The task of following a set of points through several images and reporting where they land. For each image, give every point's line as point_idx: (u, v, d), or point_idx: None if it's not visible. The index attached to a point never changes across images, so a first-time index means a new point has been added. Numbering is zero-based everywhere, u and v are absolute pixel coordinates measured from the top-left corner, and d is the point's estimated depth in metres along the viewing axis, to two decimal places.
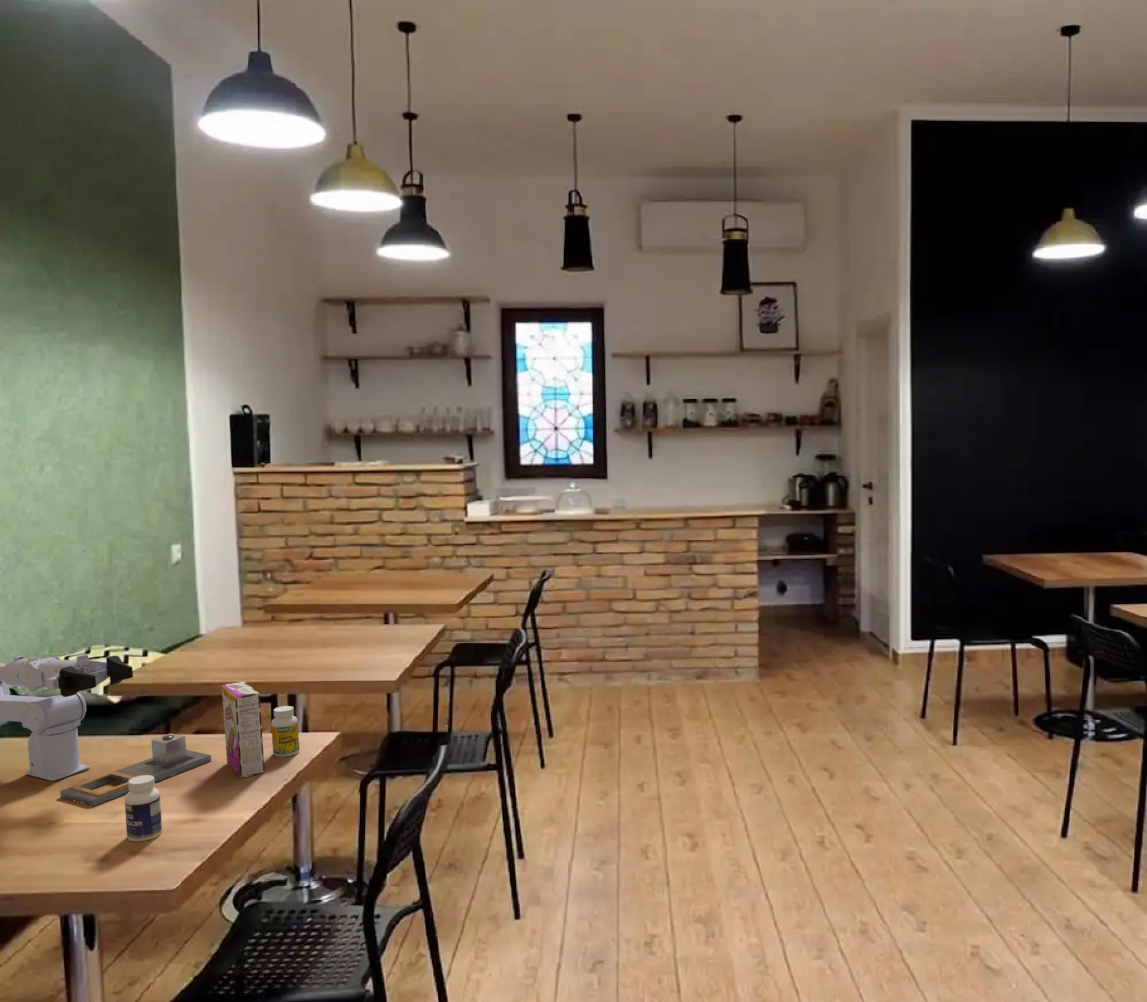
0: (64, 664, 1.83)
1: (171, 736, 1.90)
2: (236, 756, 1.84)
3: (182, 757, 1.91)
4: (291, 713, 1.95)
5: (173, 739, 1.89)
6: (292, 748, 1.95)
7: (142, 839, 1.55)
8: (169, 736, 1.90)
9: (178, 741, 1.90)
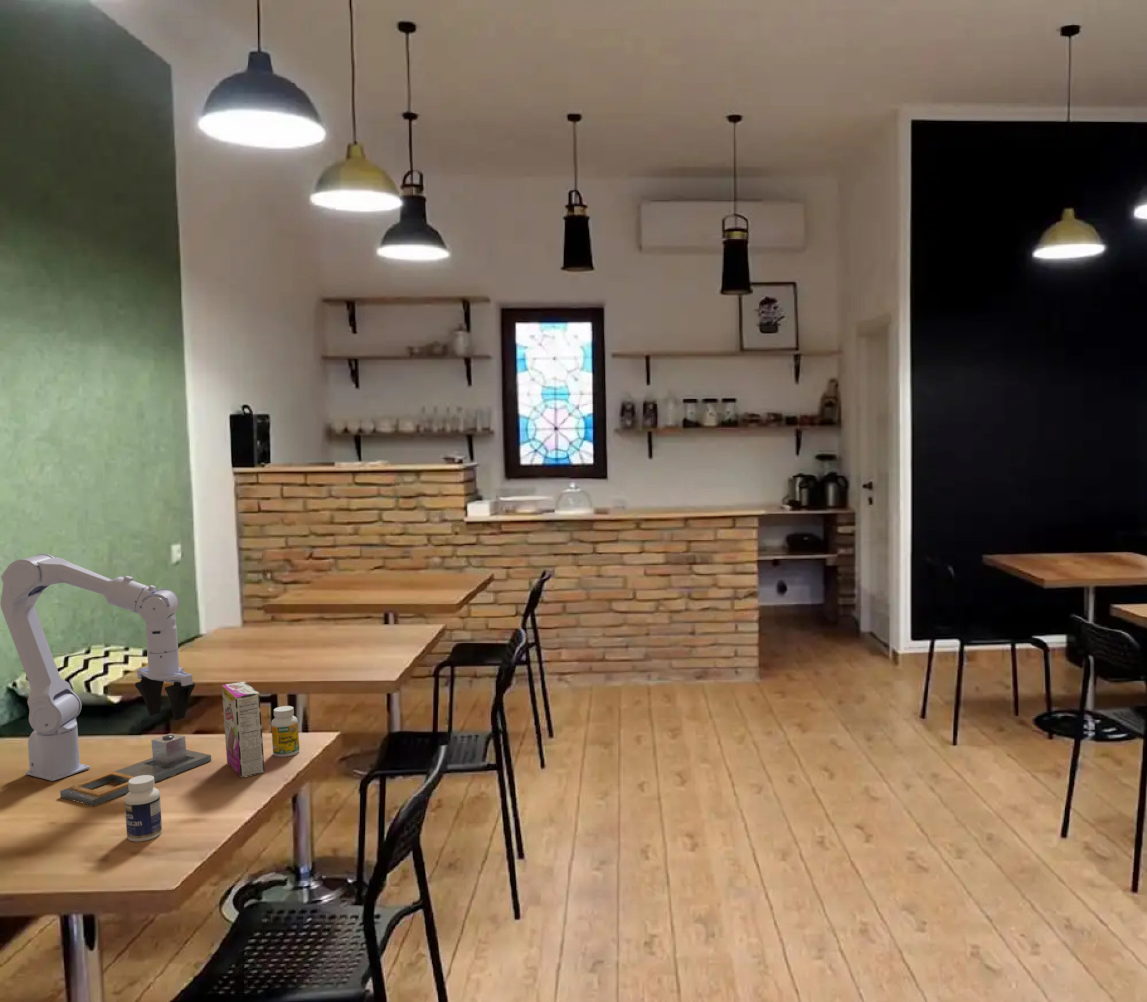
0: None
1: (171, 736, 1.90)
2: (236, 756, 1.84)
3: (182, 757, 1.91)
4: (291, 713, 1.95)
5: (173, 739, 1.89)
6: (292, 748, 1.95)
7: (142, 839, 1.55)
8: (169, 736, 1.90)
9: (178, 741, 1.90)
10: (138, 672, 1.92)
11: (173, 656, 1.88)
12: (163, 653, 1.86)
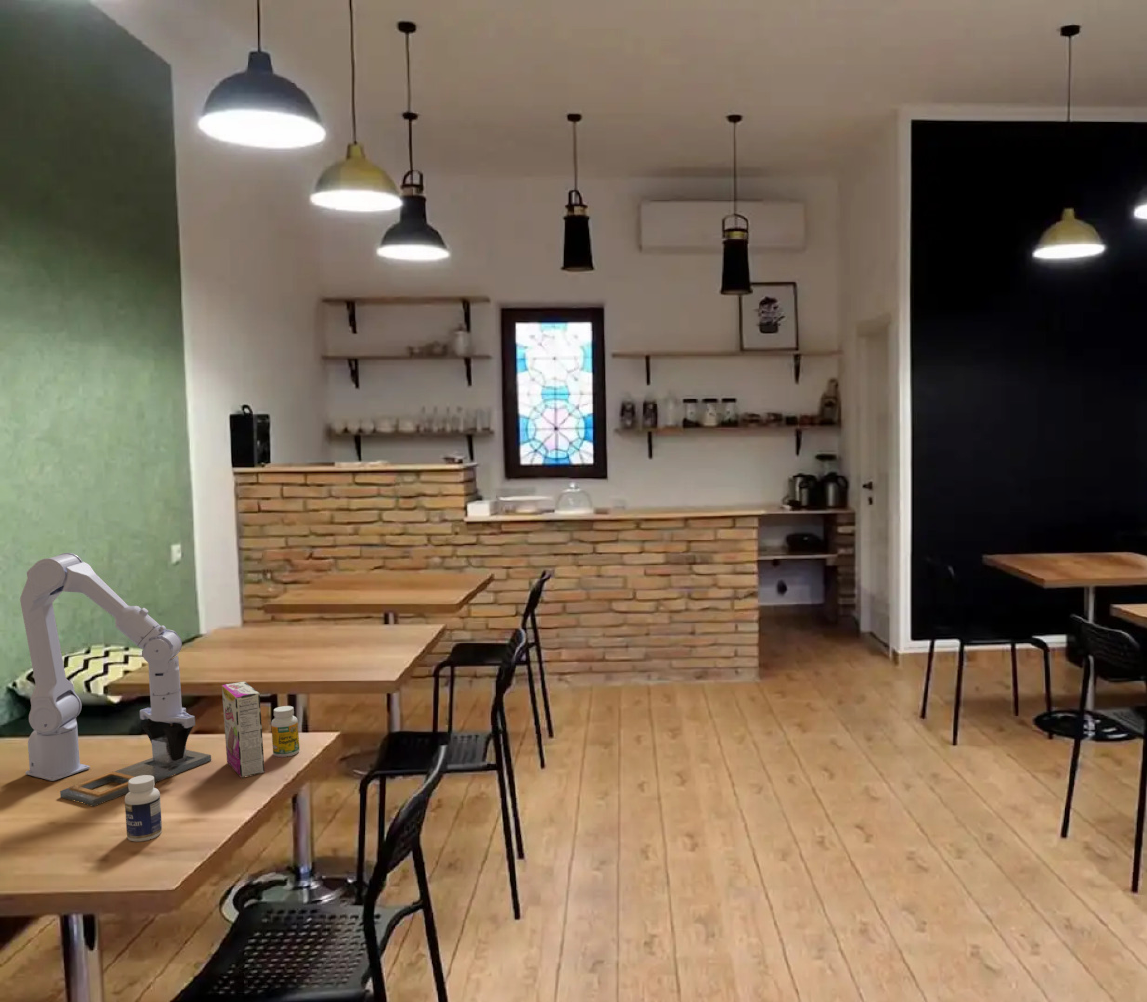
0: None
1: None
2: (236, 756, 1.84)
3: None
4: (291, 713, 1.95)
5: None
6: (292, 748, 1.95)
7: (142, 839, 1.55)
8: None
9: None
10: (141, 713, 1.92)
11: (176, 698, 1.89)
12: (166, 695, 1.87)
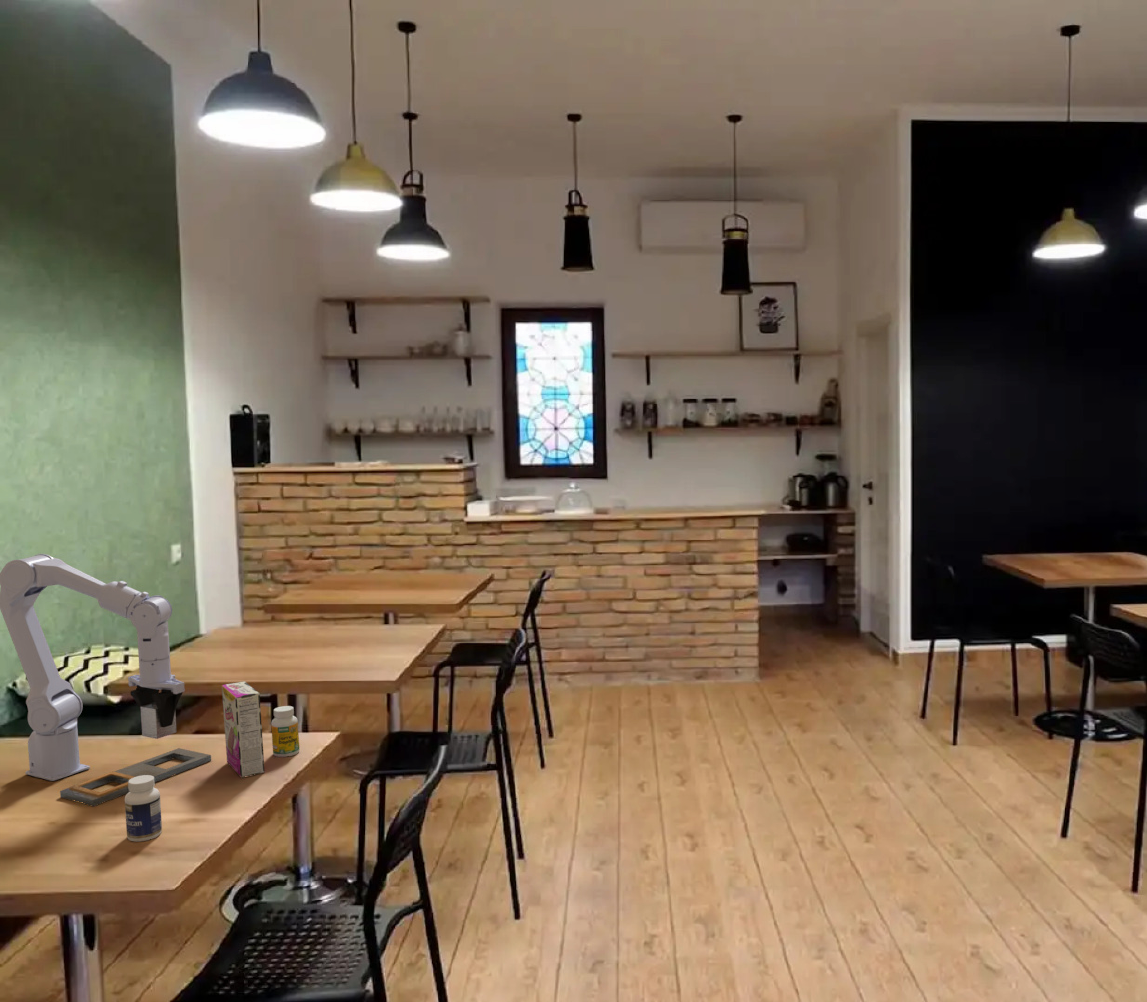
0: None
1: None
2: (236, 756, 1.84)
3: (172, 724, 1.88)
4: (291, 713, 1.95)
5: None
6: (292, 748, 1.95)
7: (142, 839, 1.55)
8: None
9: None
10: (129, 679, 1.90)
11: (165, 664, 1.86)
12: (155, 661, 1.85)
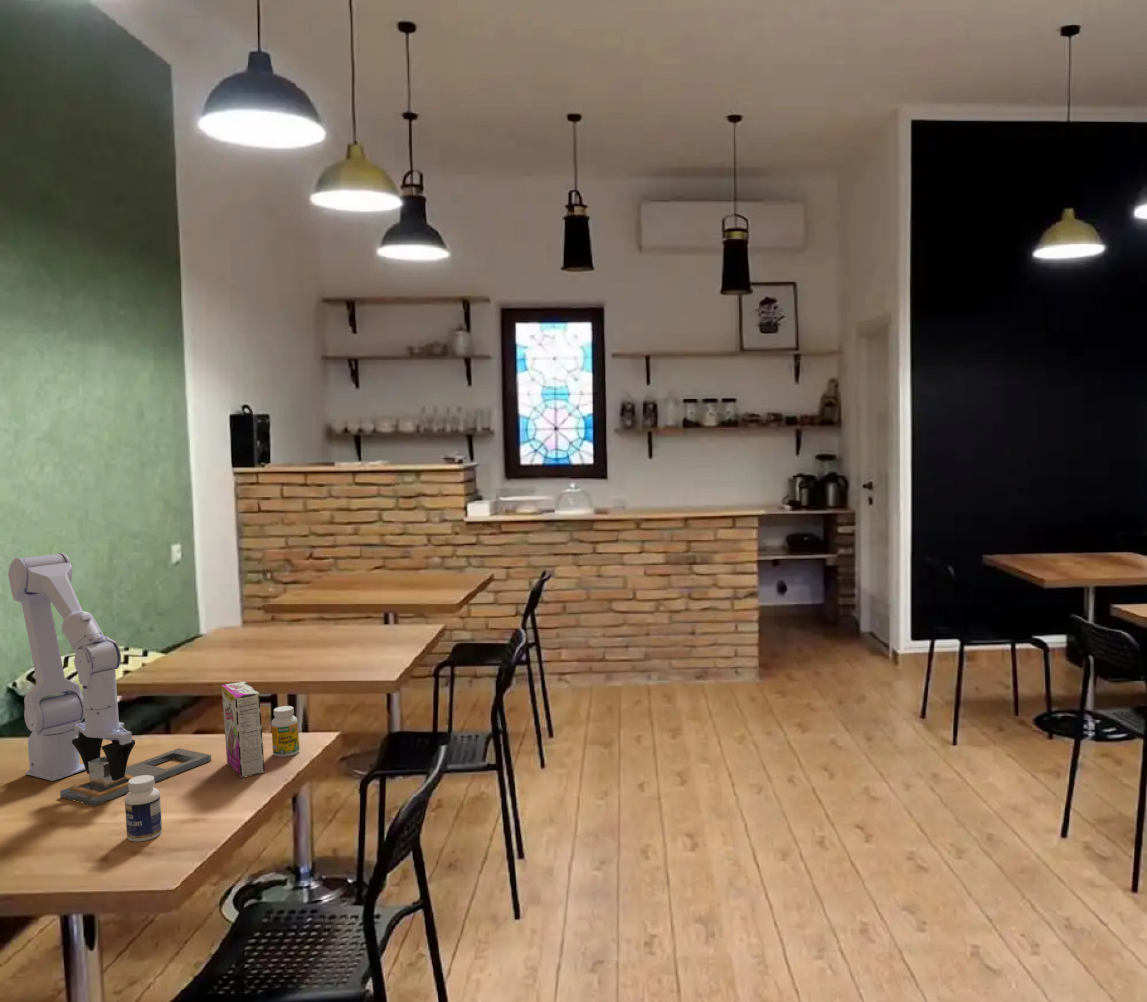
0: (117, 708, 1.79)
1: None
2: (236, 756, 1.84)
3: (121, 780, 1.79)
4: (291, 713, 1.95)
5: None
6: (292, 748, 1.95)
7: (142, 839, 1.55)
8: None
9: None
10: (75, 728, 1.80)
11: (111, 712, 1.76)
12: (100, 709, 1.75)
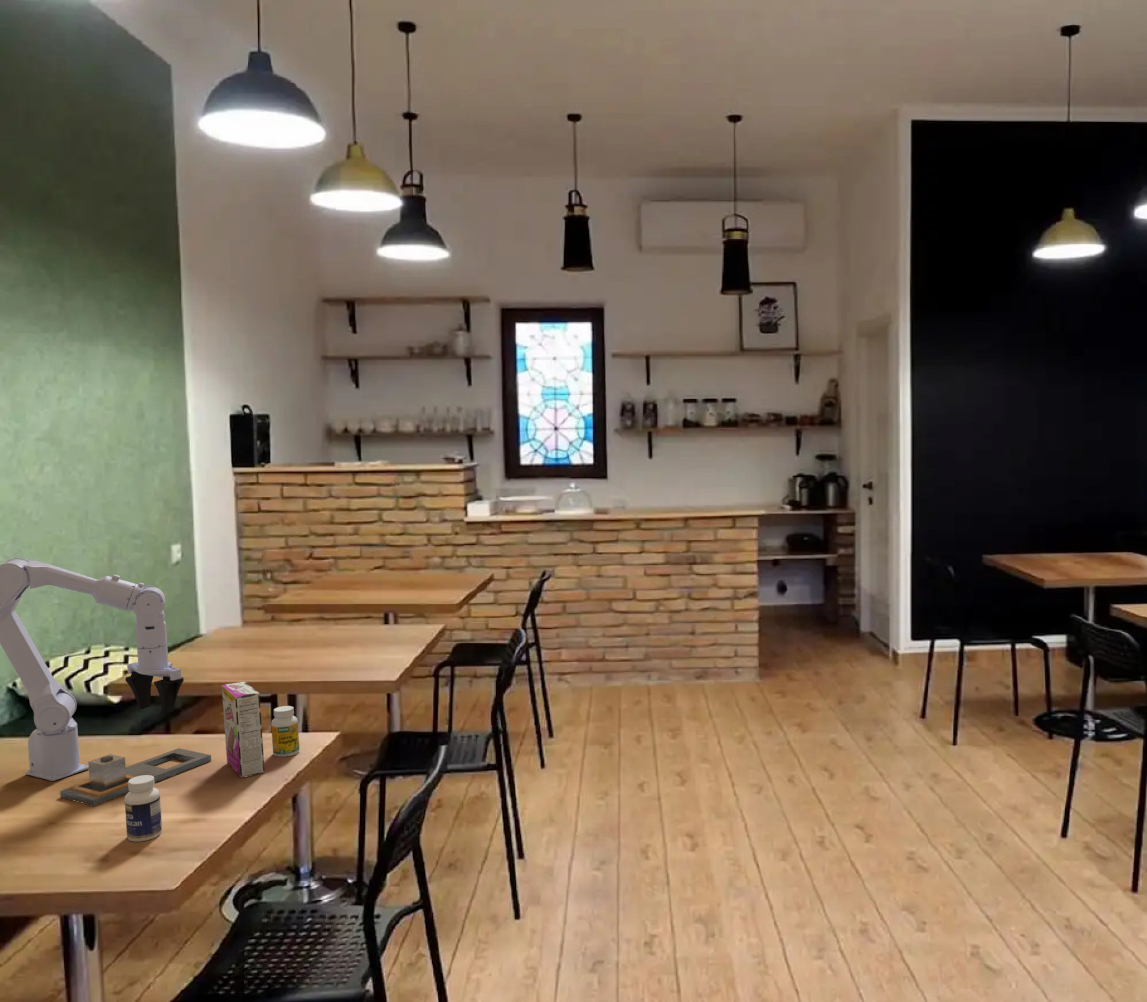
0: (167, 648, 1.95)
1: (110, 757, 1.79)
2: (236, 756, 1.84)
3: (121, 780, 1.79)
4: (291, 713, 1.95)
5: (111, 760, 1.78)
6: (292, 748, 1.95)
7: (142, 839, 1.55)
8: (107, 757, 1.79)
9: (117, 762, 1.78)
10: (128, 667, 1.96)
11: (162, 651, 1.93)
12: (152, 648, 1.91)
